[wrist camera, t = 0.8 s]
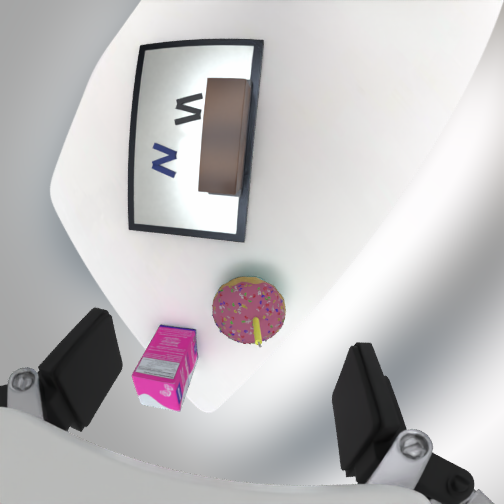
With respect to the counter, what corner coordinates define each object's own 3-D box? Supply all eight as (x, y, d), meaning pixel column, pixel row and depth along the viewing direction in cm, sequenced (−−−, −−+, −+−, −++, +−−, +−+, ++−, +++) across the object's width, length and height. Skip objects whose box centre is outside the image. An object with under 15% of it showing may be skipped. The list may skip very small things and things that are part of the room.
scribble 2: (177, 93, 28) (176, 93, 28) (203, 93, 28) (202, 92, 27) (174, 125, 29) (173, 125, 29) (200, 125, 29) (199, 125, 29)
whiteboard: (142, 46, 27) (139, 44, 26) (263, 42, 26) (263, 39, 25) (131, 228, 35) (127, 230, 34) (244, 240, 34) (243, 243, 33)
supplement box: (200, 358, 42) (180, 414, 31) (164, 352, 42) (138, 404, 31) (197, 328, 40) (174, 384, 29) (159, 323, 40) (128, 374, 29)
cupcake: (263, 250, 35) (256, 301, 23) (297, 304, 37) (302, 367, 26) (206, 282, 37) (178, 338, 26) (241, 329, 39) (229, 393, 28)
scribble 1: (153, 142, 30) (152, 142, 30) (177, 143, 30) (176, 142, 30) (152, 176, 32) (151, 177, 31) (175, 177, 31) (174, 178, 31)
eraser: (219, 80, 27) (208, 67, 22) (252, 81, 27) (247, 68, 22) (210, 192, 32) (197, 202, 27) (241, 195, 32) (234, 205, 26)
